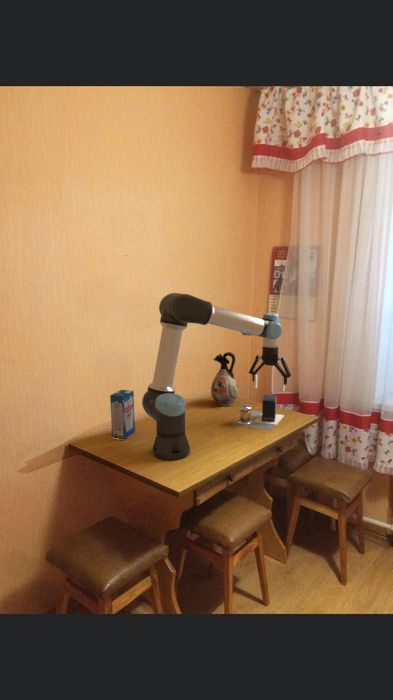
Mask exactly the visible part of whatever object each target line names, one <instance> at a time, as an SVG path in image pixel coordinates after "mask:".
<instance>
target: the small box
mask: <svg viewBox="0 0 393 700" xmlns="http://www.w3.org/2000/svg"><path fill="white" fill-rule="evenodd" d="M261 410H262V411H261V412H262V421H270V422H275V417H276V414H277V395H274V394H273V395H272V394H263V397H262V409H261Z"/></svg>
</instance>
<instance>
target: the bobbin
mask: <svg viewBox="0 0 393 700" xmlns="http://www.w3.org/2000/svg"><path fill="white" fill-rule="evenodd" d="M237 410H239V411H238V412H239V415H238V417H239V418H238V419H239V420H238V419H237V420H238V424H240V425H251V424H252V420H250V410H251V411H253V406H252V405H251V404H238V405H237Z"/></svg>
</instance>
